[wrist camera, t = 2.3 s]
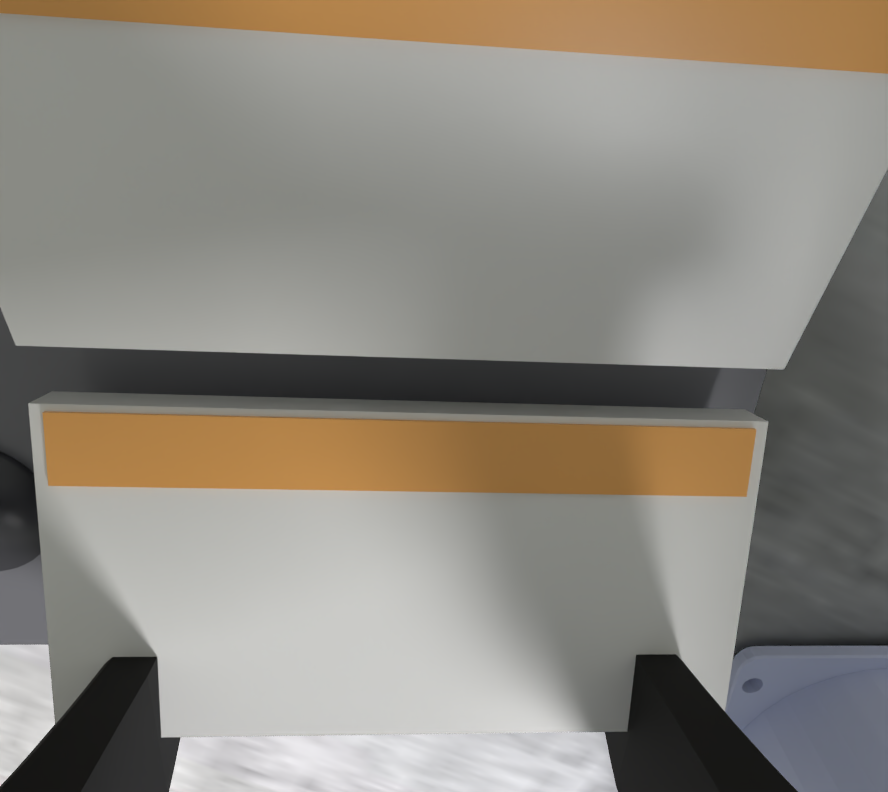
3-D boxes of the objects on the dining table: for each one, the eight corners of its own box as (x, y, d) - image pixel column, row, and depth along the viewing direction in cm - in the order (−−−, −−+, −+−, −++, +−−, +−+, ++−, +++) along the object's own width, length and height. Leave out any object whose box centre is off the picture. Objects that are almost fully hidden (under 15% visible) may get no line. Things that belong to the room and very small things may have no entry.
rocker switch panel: (639, 542, 17) (688, 648, 14) (-5, 535, 16) (-91, 651, 13) (933, -704, 8) (1201, -1055, 6) (-408, -924, 7) (-914, -1515, 4)
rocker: (693, 687, 13) (724, 733, 11) (86, 691, 12) (54, 742, 11) (733, 403, 11) (770, 423, 10) (64, 385, 11) (25, 405, 9)
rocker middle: (756, 320, 11) (785, 373, 10) (46, 294, 10) (13, 348, 9) (936, -77, 7) (1005, -50, 7) (-115, -168, 7) (-190, -150, 6)
